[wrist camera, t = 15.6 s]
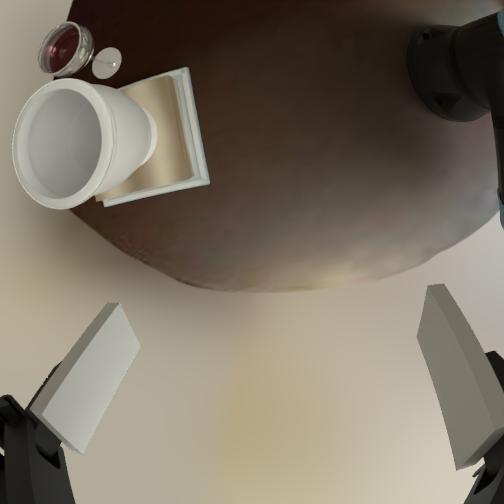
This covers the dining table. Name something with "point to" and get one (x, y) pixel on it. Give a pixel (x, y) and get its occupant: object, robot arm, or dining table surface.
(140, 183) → the plinth
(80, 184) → the jar
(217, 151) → the dining table surface
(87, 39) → the wineglass
